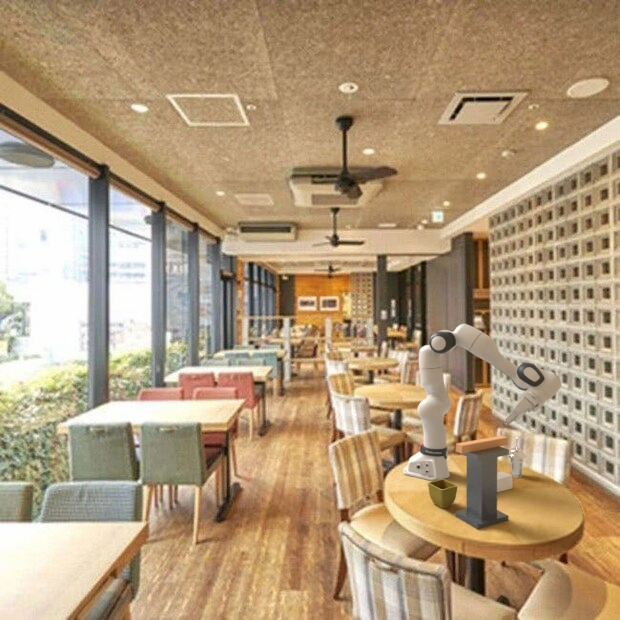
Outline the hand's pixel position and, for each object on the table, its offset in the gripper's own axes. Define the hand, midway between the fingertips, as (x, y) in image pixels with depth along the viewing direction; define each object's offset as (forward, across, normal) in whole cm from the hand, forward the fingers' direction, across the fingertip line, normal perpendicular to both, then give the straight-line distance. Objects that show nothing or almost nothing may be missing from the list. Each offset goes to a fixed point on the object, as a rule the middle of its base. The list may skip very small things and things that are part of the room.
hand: (506, 422), depth 205 cm
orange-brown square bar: (+17, +21, +3) cm, 27 cm away
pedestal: (+36, +10, +21) cm, 42 cm away
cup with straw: (+9, -38, +19) cm, 43 cm away
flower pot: (+44, +3, +8) cm, 45 cm away
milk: (+15, -23, +17) cm, 32 cm away
